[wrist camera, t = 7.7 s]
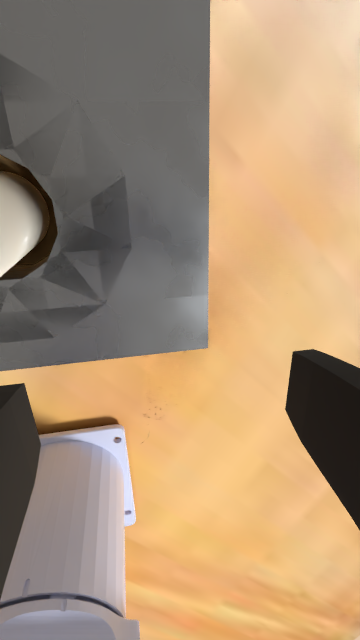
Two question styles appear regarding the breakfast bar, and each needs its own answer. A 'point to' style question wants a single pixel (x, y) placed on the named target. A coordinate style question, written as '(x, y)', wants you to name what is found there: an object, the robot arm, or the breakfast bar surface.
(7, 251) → the peg
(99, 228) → the socket plate
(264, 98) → the breakfast bar surface
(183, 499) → the breakfast bar surface
